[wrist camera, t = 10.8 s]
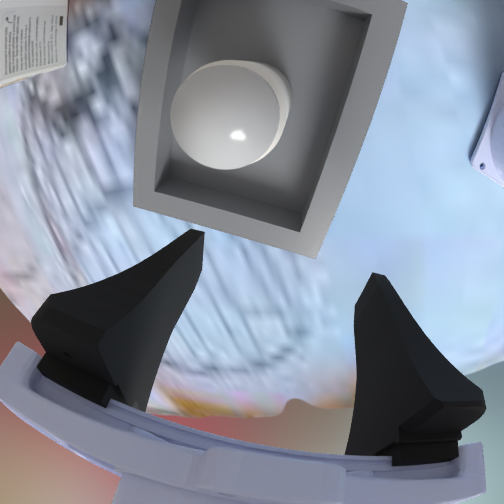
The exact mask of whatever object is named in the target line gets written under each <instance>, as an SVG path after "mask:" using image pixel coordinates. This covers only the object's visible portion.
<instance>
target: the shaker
mask: <svg viewBox="0 0 504 504" xmlns="http://www.w3.org/2000/svg"><path fill="white" fill-rule="evenodd" d="M292 101H293V92H292V88H291V85H290V82H289V81H288V79H287V77H286V76H285V75H284V74H283V73H282V72H281V71H280V70H279V69H277V68H276V67H274V66H272V65H270V64H267V63H262V62H253V61H240V60H221V61H215V62H212V63H209V64H206V65H204V66H202V67H200V68H199V69H197V70H196V71H194V72H193V73H192V74H191V75H190V76H189V77H188V78H187V79H186V80H185V81H184V82H183V83H182V84H181V86H180V87H179V89H178V90H177V92H176V94H175V96H174V99H173V101H172V105H171V112H170V120H171V127H172V131H173V134H174V136H175V138H176V140H177V142H178V144H179V145H180V147H181V148H182V149H183V150H184V152H185V153H186V154H187V155H188V156H190V157H191V158H192V159H194V160H195V161H197V162H199V163H200V164H203V165H205V166H208V167H211V168H215V169H224V170H228V169H236V168H241V167H244V166H247V165H249V164H252V163H254V162H256V161H258V160H260V159H262V158H263V157H265V156H266V155H267V154H268V153H269V152H270V151H271V150H272V149H273V148H274V147H275V145H276V144H277V143H278V141H279V139H280V137H281V135H282V132H283V129H284V127H285V124H286V120H287V117H288V114H289V111H290V108H291V105H292Z"/></svg>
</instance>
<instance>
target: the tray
mask: <svg viewBox="0 0 504 504" xmlns="http://www.w3.org/2000/svg"><path fill="white" fill-rule="evenodd" d="M407 4H408V3H406V2H404V1H402V0H156V3H155V7H154V12H153V17H152V21H151V26H150V31H149V36H148V42H147V48H146V54H145V60H144V66H143V73H142V80H141V88H140V97H139V106H138V116H137V127H136V141H135V158H134V186H133V206H134V207H138V208H141V209H145V210H148V211H152V212H156V213H159V214H163V215H166V216H170V217H173V218H177V219H180V220H184V221H187V222H191V223H194V224H198V225H201V226H205V227H208V228H212V229H215V230H218V231H222V232H225V233H229V234H232V235H236V236H239V237H242V238H246V239H249V240H253V241H256V242H260V243H263V244H266V245H270V246H273V247H277V248H280V249H283V250H287V251H290V252H293V253H297V254H300V255H303V256H307V257H310V258H313V259H316V257H317V254H318V252H319V250H320V248H321V245H322V243H323V241H324V238H325V236H326V234H327V232H328V229H329V227H330V225H331V222H332V220H333V217H334V215H335V213H336V210H337V208H338V206H339V203H340V201H341V198H342V196H343V193H344V191H345V188H346V186H347V183H348V181H349V178H350V176H351V173H352V171H353V168H354V166H355V163H356V160H357V158H358V155H359V153H360V150H361V147H362V145H363V142H364V139H365V136H366V134H367V131H368V128H369V125H370V123H371V120H372V117H373V114H374V111H375V109H376V106H377V103H378V100H379V97H380V94H381V91H382V88H383V85H384V82H385V79H386V76H387V73H388V69H389V66H390V63H391V60H392V57H393V53H394V50H395V47H396V43H397V40H398V37H399V33H400V30H401V26H402V22H403V19H404V15H405V11H406V8H407ZM221 60H240V61H253V62H262V63H267V64H270V65H272V66H274V67H276V68H277V69H279V70H280V71H281V72H282V73H283V74H284V75H285V76H286V77H287V79H288V81H289V82H290V85H291V88H292V92H293V101H292V105H291V108H290V111H289V114H288V117H287V120H286V124H285V127H284V129H283V132H282V135H281V137H280V139H279V141H278V143H277V144H276V145H275V147H274V148H273V149H272V150H271V151H270V152H269V153H268V154H267V155H266V156H265V157H263V158H262V159H260V160H258V161H256V162H254V163H252V164H249V165H247V166H244V167H241V168H236V169H228V170H224V169H215V168H211V167H208V166H205V165H203V164H200V163H199V162H197V161H195V160H194V159H192V158H191V157H190V156H188V155H187V154H186V153H185V152H184V150H183V149H182V148H181V147H180V145H179V144H178V142H177V140H176V138H175V136H174V134H173V131H172V127H171V120H170V112H171V105H172V101H173V99H174V96H175V94H176V92H177V90H178V89H179V87H180V86H181V84H182V83H183V82H184V81H185V80H186V79H187V78H188V77H189V76H190V75H191V74H192V73H193V72H194V71H196V70H197V69H199V68H200V67H202V66H204V65H206V64H209V63H212V62H215V61H221Z"/></svg>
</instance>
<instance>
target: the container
mask: <svg viewBox="0 0 504 504" xmlns="http://www.w3.org/2000/svg"><path fill="white" fill-rule="evenodd" d="M67 15H68V0H0V88H3V87H6V86H9V85H12V84H15V83H18V82H21V81H23V80H26V79H29V78H32V77H34V76H37V75H40V74H43V73H47V72H50V71H53V70H56V69H60V68H63V67H65V66H66V64H67Z"/></svg>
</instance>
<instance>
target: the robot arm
mask: <svg viewBox="0 0 504 504" xmlns="http://www.w3.org/2000/svg"><path fill="white" fill-rule="evenodd" d="M481 163H483V166H482V167H481V168H480V164H481ZM470 164H471V166H472V167H473V168H474V169H475V170H477V171H479V172H480V173H482V174H483V175H485V176H487V177H488V178H490V179H491V180H493V181H494V182H496V183H497V184H499V185H500V186H502V187H503V188H504V72H503V73H502V75H501V78H500V82H499V85H498V88H497V91H496V95H495V98H494V101H493V104H492V107H491V109H490V112H489V115H488V118H487V121H486V123H485V126H484V128H483V131H482V134H481V136H480V139H479V141H478V143H477V146H476V148H475V151H474V153H473V155H472V157H471V160H470ZM204 234H205V232H202V231H198V230H194V229H190V230H188V231H187V232H185V233H184V234H182V235H181V236H180V237H178V238H177V239H175V240H174V241H172V242H171V243H170V244H168V245H167V246H165V247H164V248H162V249H161V250H159V251H158V252H156V253H155V254H153V255H152V256H150V257H148V258H147V259H145V260H143V261H142V262H140V263H138V264H136V265H135V266H133V267H131V268H129V269H127V270H125V271H123V272H121V273H118V274H116V275H114V276H111V277H109V278H106V279H104V280H101V281H99V282H96V283H93V284H90V285H87V286H84V287H81V288H77V289H73V290H69V291H65V292H60V293H56V294H51V295H50V296H49V297H48V298H47V299H46V301H45V302H44V303H43V304H42V306H41V307H40V308H39V310H38V311H37V312H36V313H35V315H34V316H33V317H32V320H31V324H32V329H33V331H34V333H35V335H36V336H37V338H38V340H39V341H40V343H41V345H42V346H43V348H44V350H45V351H46V353H45V355H44V356H43V358H42V357H41V356H40V355H39V354H37V353H36V352H35V351H33V350H31V349H30V348H28V347H26V346H25V345H23V344H22V343H20V342H16V344H15V345H14V347H13V348H12V350H11V351H10V353H9V354H8V355H7V357H6V359H5V360H4V362H3V363H2V365H1V366H0V401H1V402H2V403H3V404H4V405H6V406H7V407H8V408H9V409H10V410H11V411H12V412H13V413H15V414H16V415H17V416H19V417H20V418H21V419H22V420H24V421H25V422H26V423H28V424H29V425H31V426H32V427H34V428H35V429H36V430H38V431H40V432H41V433H43V434H44V435H45V436H47V437H49V438H50V439H52V440H54V441H55V442H56V443H58V444H60V445H61V446H63V447H65V448H66V449H68V450H70V451H71V452H73V453H75V454H77V455H78V456H80V457H82V458H84V459H86V460H88V461H90V462H91V463H93V464H95V465H98V466H99V467H101V468H103V469H105V470H107V471H110V472H112V473H114V474H116V475H118V476H120V477H121V479H120V481H119V484H118V487H117V490H116V492H115V495H114V498H113V500H112V503H111V504H456V503H459V502H462V501H465V500H467V499H470V498H473V497H476V496H478V495H481V494H483V493H485V492H486V480H485V465H484V455H483V446H482V443H481V442H478V443H471V444H465V445H461V446H459V447H458V440H460V439H461V438H462V434H461V431H462V430H463V429H465V428H466V427H468V426H469V425H471V424H472V423H474V422H475V421H477V420H478V419H479V418H480V417H481V416H482V415H483V414H484V412H485V410H486V405H485V400H484V396H483V391H482V390H481V389H480V388H479V387H478V386H476V385H475V384H474V383H472V382H471V381H470V380H469V379H467V378H466V377H465V376H464V375H463V374H462V373H461V372H459V371H458V370H457V369H456V368H455V367H454V366H453V365H452V364H451V363H450V362H449V361H448V360H447V359H446V358H445V357H444V356H443V355H442V354H441V353H440V351H439V350H438V349H437V348H436V347H435V346H434V344H433V343H432V342H431V341H430V340H429V338H428V337H427V336H426V335H425V333H424V332H423V331H422V329H421V328H420V326H419V325H418V324H417V322H416V321H415V319H414V318H413V317H412V315H411V314H410V312H409V311H408V309H407V308H406V306H405V305H404V303H403V301H402V300H401V298H400V297H399V295H398V294H397V292H396V291H395V289H394V288H393V286H392V285H391V283H390V282H389V280H388V279H387V277H386V276H385V275H381V274H377V273H373V272H372V274H371V276H370V278H369V280H368V282H367V284H366V286H365V288H364V290H363V292H362V293H361V295H360V297H359V299H358V301H357V303H356V304H355V313H354V336H355V350H356V366H357V381H356V394H355V403H354V411H353V417H352V423H351V429H350V434H349V439H348V443H347V447H346V451H345V455H335V454H324V453H313V452H305V451H297V450H290V449H283V448H277V447H271V446H265V445H259V444H255V443H249V442H245V441H240V440H236V439H231V438H227V437H223V436H219V435H215V434H211V433H208V432H204V431H200V430H197V429H193V428H190V427H187V426H184V425H180V424H177V423H174V422H171V421H168V420H165V419H162V418H159V417H156V416H153V415H151V414H148V413H145V411H146V407H147V404H148V400H149V396H150V393H151V390H152V386H153V383H154V380H155V377H156V374H157V371H158V368H159V365H160V362H161V359H162V356H163V354H164V351H165V348H166V346H167V343H168V340H169V338H170V335H171V333H172V331H173V329H174V327H175V325H176V323H177V321H178V319H179V318H180V316H181V314H182V312H183V310H184V308H185V306H186V304H187V302H188V301H189V299H190V297H191V295H192V293H193V291H194V289H195V287H196V284H197V282H198V279H199V276H200V273H201V271H202V262H203V247H204Z"/></svg>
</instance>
